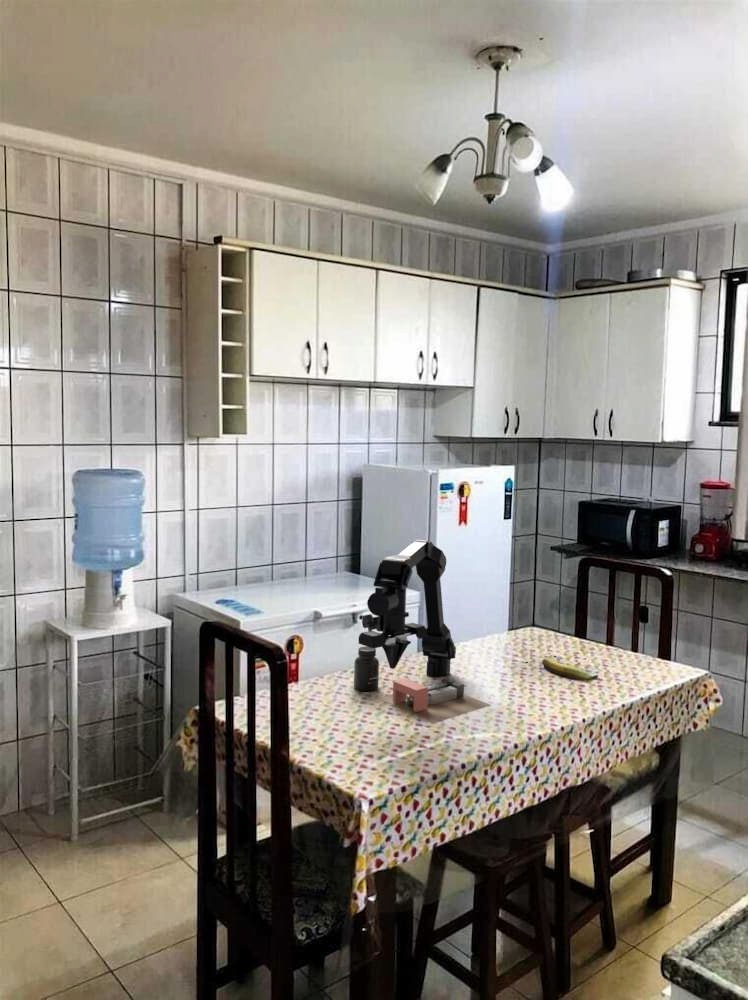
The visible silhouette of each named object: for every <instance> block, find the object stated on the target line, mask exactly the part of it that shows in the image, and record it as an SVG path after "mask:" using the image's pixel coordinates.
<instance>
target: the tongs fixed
mask: <svg viewBox="0 0 748 1000" xmlns="http://www.w3.org/2000/svg"><path fill="white" fill-rule="evenodd" d="M440 681H441V682H436V683H435V684H433V685H429V686H426V687H428V692H429V691H433V690H437V689H441V688H445V687H449V686H451V683H455V680H454V679H451V678H448V677H447V678H444V679H441V680H440ZM407 703H408V704H409V706H410V707H414V697H413V696H410V695H409V696H407Z"/></svg>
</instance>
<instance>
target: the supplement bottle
mask: <svg viewBox="0 0 748 1000" xmlns="http://www.w3.org/2000/svg"><path fill="white" fill-rule="evenodd" d="M376 649H377V648H370V647H367V646H360V647H358V653H357V655H358V656H357V657H356V658H355V659H354V668H353V671H354V672H353V690H355V691H356V692H359V693H374V692H377V691H378V690H379V680H380V679H379V677H380V676H379V674H380V672H379V671H380V670H379V669H380V661H379V658H377V653H376V651H377V650H376Z"/></svg>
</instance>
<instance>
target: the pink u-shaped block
mask: <svg viewBox="0 0 748 1000" xmlns="http://www.w3.org/2000/svg"><path fill="white" fill-rule="evenodd" d="M392 683H393V685H392V694H393V702H394V703H398V702H401V701H405V700H407V694H408V695H410V696H413V697H414V707H413V711H415V712H418V711H421V710H425V709H427V708H428V687H426V686H424V684H421V683H418V682H416V681H413V680H411V679H407V678H406V677H403V678H401V679H396V680H393V681H392Z"/></svg>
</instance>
